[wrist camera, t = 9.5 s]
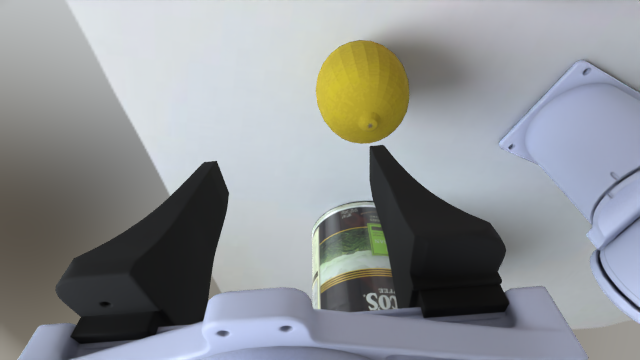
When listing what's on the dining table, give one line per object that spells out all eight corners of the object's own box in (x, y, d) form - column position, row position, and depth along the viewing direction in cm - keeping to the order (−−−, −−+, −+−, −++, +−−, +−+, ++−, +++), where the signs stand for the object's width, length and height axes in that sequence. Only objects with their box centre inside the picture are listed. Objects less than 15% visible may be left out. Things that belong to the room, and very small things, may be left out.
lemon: (331, 11, 21) (340, 58, 14) (408, 41, 22) (446, 94, 16) (305, 89, 24) (303, 153, 18) (373, 111, 25) (393, 177, 19)
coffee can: (344, 186, 30) (363, 342, 19) (427, 222, 34) (482, 370, 23) (293, 247, 36) (286, 394, 25) (369, 272, 39) (391, 410, 29)
